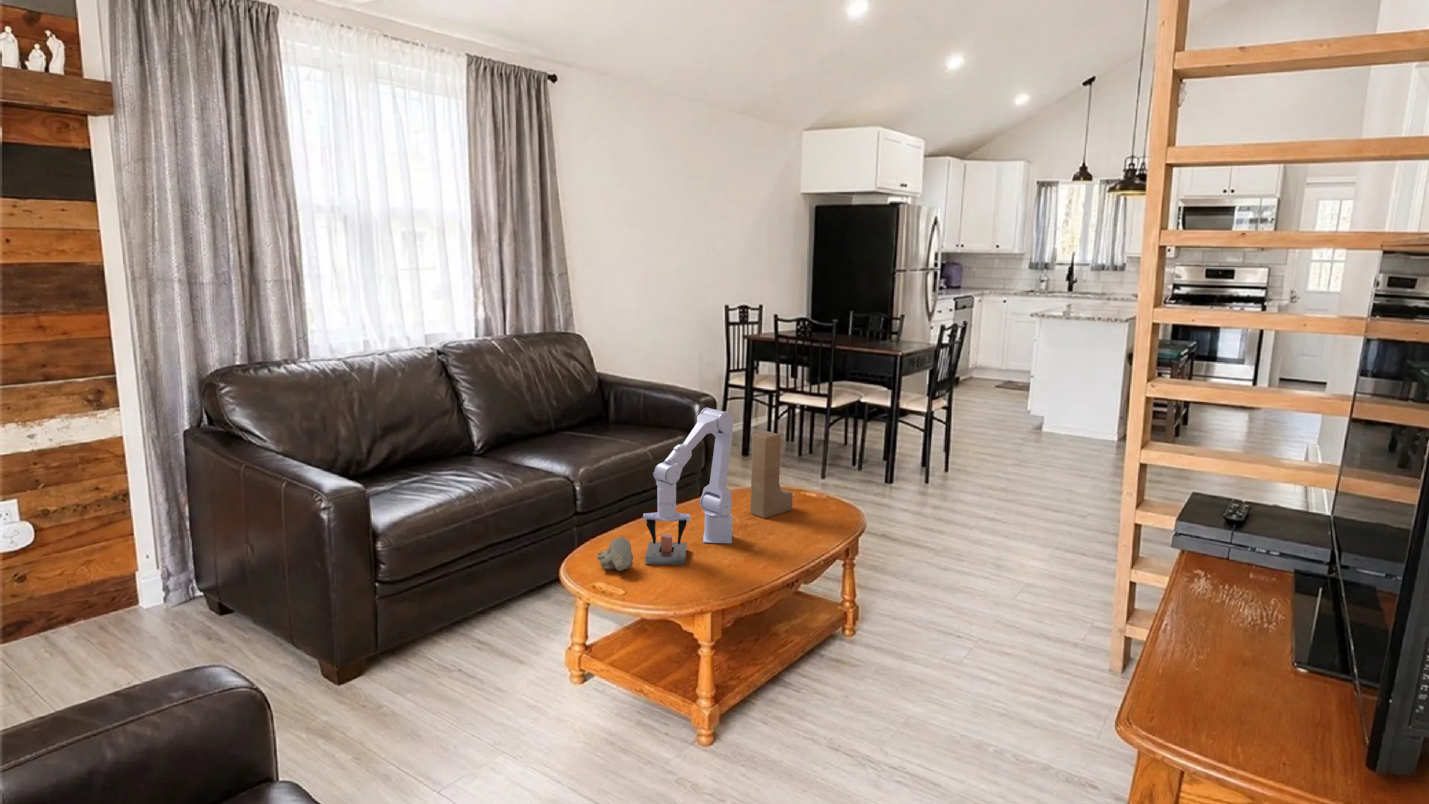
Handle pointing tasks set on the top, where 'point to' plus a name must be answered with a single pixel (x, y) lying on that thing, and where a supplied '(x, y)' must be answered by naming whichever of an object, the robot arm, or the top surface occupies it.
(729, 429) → the robot arm
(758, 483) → the decorative block
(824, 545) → the top surface
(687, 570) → the top surface
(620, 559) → the fossil
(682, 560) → the gray slotted base
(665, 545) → the reddish brown rectangular block
